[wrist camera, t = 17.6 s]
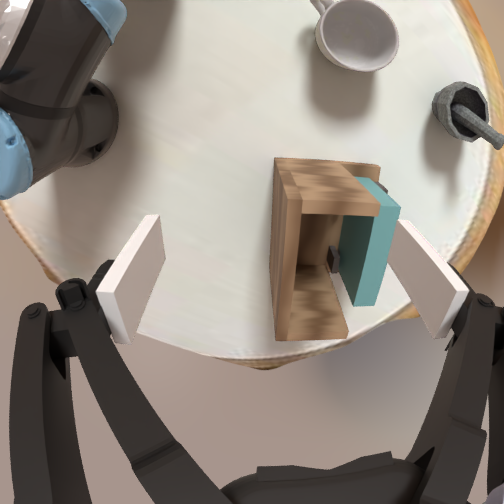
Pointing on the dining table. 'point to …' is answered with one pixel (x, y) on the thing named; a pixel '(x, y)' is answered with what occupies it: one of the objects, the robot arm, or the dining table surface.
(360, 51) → the teacup
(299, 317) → the cabinet
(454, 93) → the mortar and pestle
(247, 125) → the dining table surface
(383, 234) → the door
